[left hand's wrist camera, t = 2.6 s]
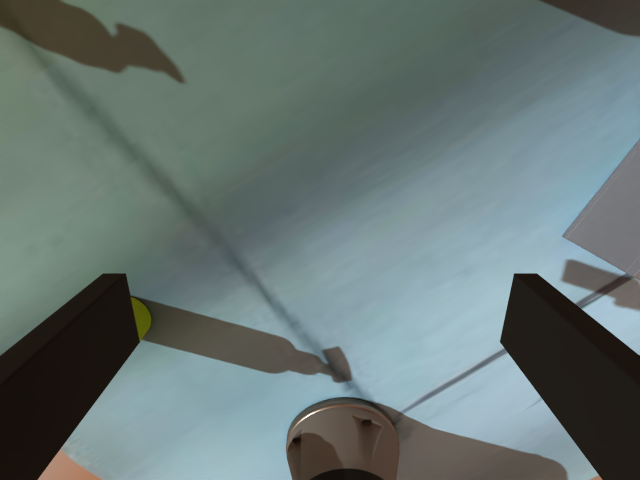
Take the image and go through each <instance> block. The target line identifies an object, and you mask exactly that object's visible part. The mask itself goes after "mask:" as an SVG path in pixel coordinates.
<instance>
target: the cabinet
mask: <svg viewBox="0 0 640 480" xmlns="http://www.w3.org/2000/svg"><path fill="white" fill-rule="evenodd" d="M563 237H564V238H566V239H568V240H570V241H571V242H573V243H575V244H577V245H578V246H580V247H582V248H584V249H585V250H587V251H589V252H591V253H592V254H594V255H596V256H598V257H599V258H601V259H603V260H605V261H606V262H608V263H610V264H612V265H613V266H615V267H617V268H619V269H620V270H622V271H624V272H626V273H627V274H629V275H631V276H633V277H635V278H636V279H638V280H640V139H639V141H638V142H637V143H636V144H635V146H634V147H633V148H632V149H631V151H630V152H629V153H628V154H627V156H626V157H625V158H624V159H623V161H622V162H621V163H620V164H619V166H618V167H617V168H616V169H615V171H614V172H613V173H612V174H611V176H610V177H609V178H608V179H607V181H606V182H605V183H604V184H603V186H602V187H601V188H600V189H599V191H598V192H597V193H596V194H595V196H594V197H593V198H592V199H591V201H590V202H589V203H588V204H587V206H586V207H585V208H584V209H583V211H582V212H581V213H580V214H579V216H578V217H577V218H576V219H575V221H574V222H573V223H572V224H571V226H570V227H569V228H568V229H567V231H566V232H565V233H564V234H563Z"/></svg>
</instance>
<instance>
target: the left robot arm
mask: <svg viewBox="0 0 640 480" xmlns="http://www.w3.org/2000/svg"><path fill="white" fill-rule="evenodd" d="M139 342H140V340H139V335H138V330H137V325H136V320H135V316H134V311H133V306H132V301H131V296H130V292H129V287H128V282H127V277H126V274H102V275H101V276H99V277H98V278H97V279H96V280H94V281H93V282H92V283H91V284H89V285H88V286H87V287H86V288H84V289H83V290H82V291H81V292H79V293H78V294H77V295H76V296H74V297H73V298H72V299H71V300H69V301H68V302H67V303H66V304H65V305H63V306H62V307H61V308H60V309H58V310H57V311H56V312H55V313H53V314H52V315H51V316H50V317H48V318H47V319H46V320H45V321H43V322H42V323H41V324H40V325H38V326H37V327H36V328H35V329H33V330H32V331H31V332H30V333H28V334H27V335H26V336H25V337H23V338H22V339H21V340H20V341H18V342H17V343H16V344H15V345H13V346H12V347H11V348H10V349H8V350H7V351H6V352H5V353H3V354H2V355H1V356H0V480H37V479H38V478H39V477H40V475H41V474H42V473H43V471H44V470H45V469H46V467H47V466H48V465H49V463H50V462H51V461H52V459H53V458H54V457H55V455H56V454H57V453H58V451H59V450H60V449H61V447H62V446H63V445H64V443H65V442H66V441H67V439H68V438H69V437H70V435H71V434H72V432H73V431H74V430H75V428H76V427H77V426H78V424H79V423H80V422H81V420H82V419H83V418H84V416H85V415H86V414H87V412H88V411H89V410H90V408H91V407H92V406H93V404H94V403H95V402H96V400H97V399H98V398H99V396H100V395H101V394H102V392H103V391H104V389H105V388H106V387H107V385H108V384H109V383H110V381H111V380H112V379H113V377H114V376H115V375H116V373H117V372H118V371H119V369H120V368H121V367H122V365H123V364H124V363H125V361H126V360H127V359H128V357H129V356H130V355H131V353H132V352H133V351H134V349H135V348H136V346H137V345H138V344H139ZM500 342H501V344H502V345H503V346H504V348H505V349H506V351H507V352H508V353H509V355H510V356H511V357H512V359H513V360H514V361H515V363H516V364H517V365H518V367H519V368H520V369H521V371H522V372H523V373H524V375H525V376H526V377H527V379H528V380H529V381H530V383H531V384H532V385H533V387H534V388H535V389H536V391H537V392H538V394H539V395H540V396H541V398H542V399H543V400H544V402H545V403H546V404H547V406H548V407H549V408H550V410H551V411H552V412H553V414H554V415H555V416H556V418H557V419H558V420H559V422H560V423H561V424H562V426H563V427H564V428H565V430H566V431H567V432H568V434H569V435H570V437H571V438H572V439H573V441H574V442H575V443H576V445H577V446H578V447H579V449H580V450H581V451H582V453H583V454H584V455H585V457H586V458H587V459H588V461H589V462H590V463H591V465H592V466H593V467H594V469H595V470H596V471H597V473H598V474H599V475H600V477H601V478H602V479H603V480H640V355H638V354H637V353H635V352H634V351H633V350H632V349H630V348H629V347H628V346H627V345H625V344H624V343H623V342H622V341H620V340H619V339H618V338H617V337H615V336H614V335H613V334H612V333H610V332H609V331H608V330H607V329H605V328H604V327H603V326H602V325H600V324H599V323H598V322H597V321H595V320H594V319H593V318H592V317H590V316H589V315H588V314H587V313H585V312H584V311H583V310H582V309H580V308H579V307H578V306H577V305H575V304H574V303H573V302H572V301H571V300H569V299H568V298H567V297H566V296H564V295H563V294H562V293H561V292H559V291H558V290H557V289H556V288H554V287H553V286H552V285H551V284H549V283H548V282H547V281H546V280H544V279H543V278H542V277H541V276H539V275H538V274H514V277H513V282H512V287H511V292H510V296H509V301H508V306H507V311H506V316H505V320H504V325H503V330H502V335H501V340H500ZM286 453H287V460H288V464H289V468H290V472H291V476H292V480H396V475H397V468H398V460H399V440H398V436H397V431H396V428H395V425H394V423H393V422H392V420H391V419H390V417H389V416H388V415H387V414H386V413H385V412H384V411H383V410H381V409H380V408H378V407H377V406H375V405H373V404H371V403H368V402H365V401H362V400H358V399H351V398H335V399H329V400H324V401H321V402H318V403H316V404H313V405H311V406H309V407H308V408H306V409H305V410H303V411H302V412H301V413H300V414H299V415H297V417H296V418H295V419H294V420H293V422H292V423H291V425H290V427H289V430H288V434H287V444H286Z"/></svg>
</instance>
